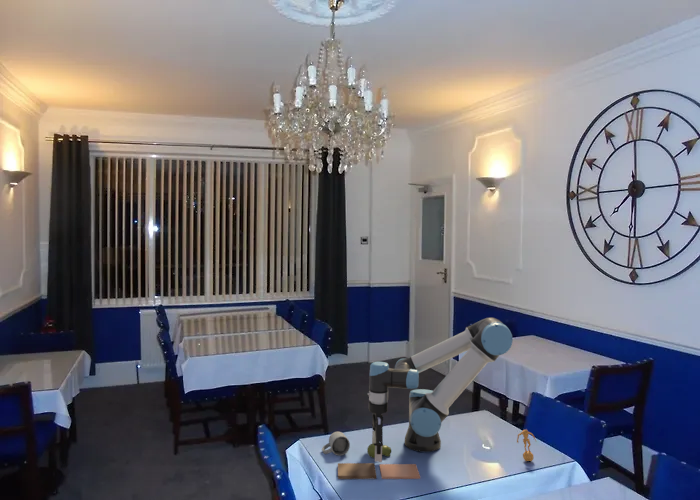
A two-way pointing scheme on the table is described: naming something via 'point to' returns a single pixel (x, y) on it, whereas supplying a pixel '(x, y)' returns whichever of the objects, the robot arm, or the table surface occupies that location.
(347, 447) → the ceramic mug
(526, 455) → the figurine
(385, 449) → the green oblong lump
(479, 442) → the table surface
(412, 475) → the terracotta tile
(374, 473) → the walnut board
